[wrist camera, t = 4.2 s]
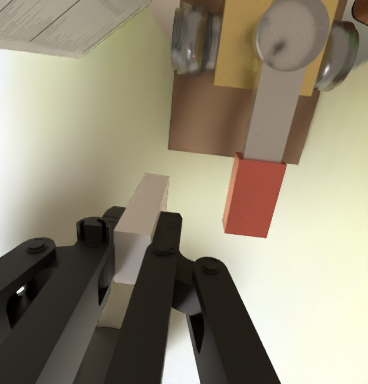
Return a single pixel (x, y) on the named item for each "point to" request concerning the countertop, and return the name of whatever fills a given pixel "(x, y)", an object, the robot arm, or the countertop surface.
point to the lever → (272, 110)
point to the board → (227, 111)
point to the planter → (360, 11)
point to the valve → (251, 46)
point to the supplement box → (62, 24)
